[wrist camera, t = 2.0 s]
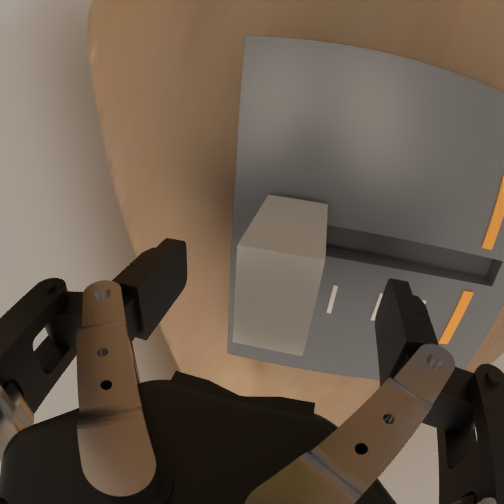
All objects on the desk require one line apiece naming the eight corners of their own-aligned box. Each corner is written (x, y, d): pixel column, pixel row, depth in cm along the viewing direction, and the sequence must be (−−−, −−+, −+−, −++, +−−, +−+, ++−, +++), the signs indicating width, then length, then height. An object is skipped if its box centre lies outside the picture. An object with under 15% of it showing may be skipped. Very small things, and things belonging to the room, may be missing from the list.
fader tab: (273, 186, 15) (237, 244, 9) (327, 195, 14) (325, 260, 9) (265, 259, 17) (232, 341, 11) (314, 268, 16) (302, 356, 11)
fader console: (259, 46, 14) (244, 35, 11) (531, 115, 11) (561, 122, 8) (239, 324, 22) (226, 354, 20) (445, 356, 20) (453, 387, 17)
